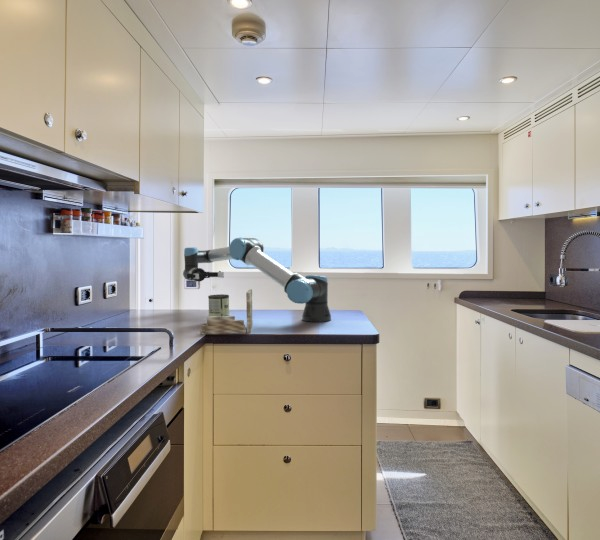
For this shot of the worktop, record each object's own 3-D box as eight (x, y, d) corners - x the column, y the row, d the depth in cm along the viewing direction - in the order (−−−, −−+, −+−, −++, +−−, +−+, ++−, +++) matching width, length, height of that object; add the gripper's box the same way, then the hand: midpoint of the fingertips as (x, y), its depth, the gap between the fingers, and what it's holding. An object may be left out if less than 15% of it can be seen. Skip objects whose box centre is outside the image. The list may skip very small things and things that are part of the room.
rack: (252, 326, 199) (252, 289, 198) (250, 333, 183) (249, 292, 182) (206, 327, 198) (205, 290, 197) (200, 334, 182) (199, 293, 181)
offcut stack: (245, 329, 185) (244, 315, 185) (244, 329, 183) (244, 316, 183) (202, 329, 184) (201, 316, 184) (201, 330, 182) (201, 317, 182)
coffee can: (212, 321, 215) (211, 294, 214) (231, 321, 214) (231, 294, 213) (205, 324, 205) (205, 296, 204) (226, 325, 204) (225, 296, 203)
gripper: (218, 279, 241) (233, 281, 223) (175, 282, 227) (187, 284, 210) (217, 267, 241) (232, 267, 223) (174, 268, 227) (187, 269, 209)
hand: (210, 275), depth 216 cm, fingers open, 13 cm apart
